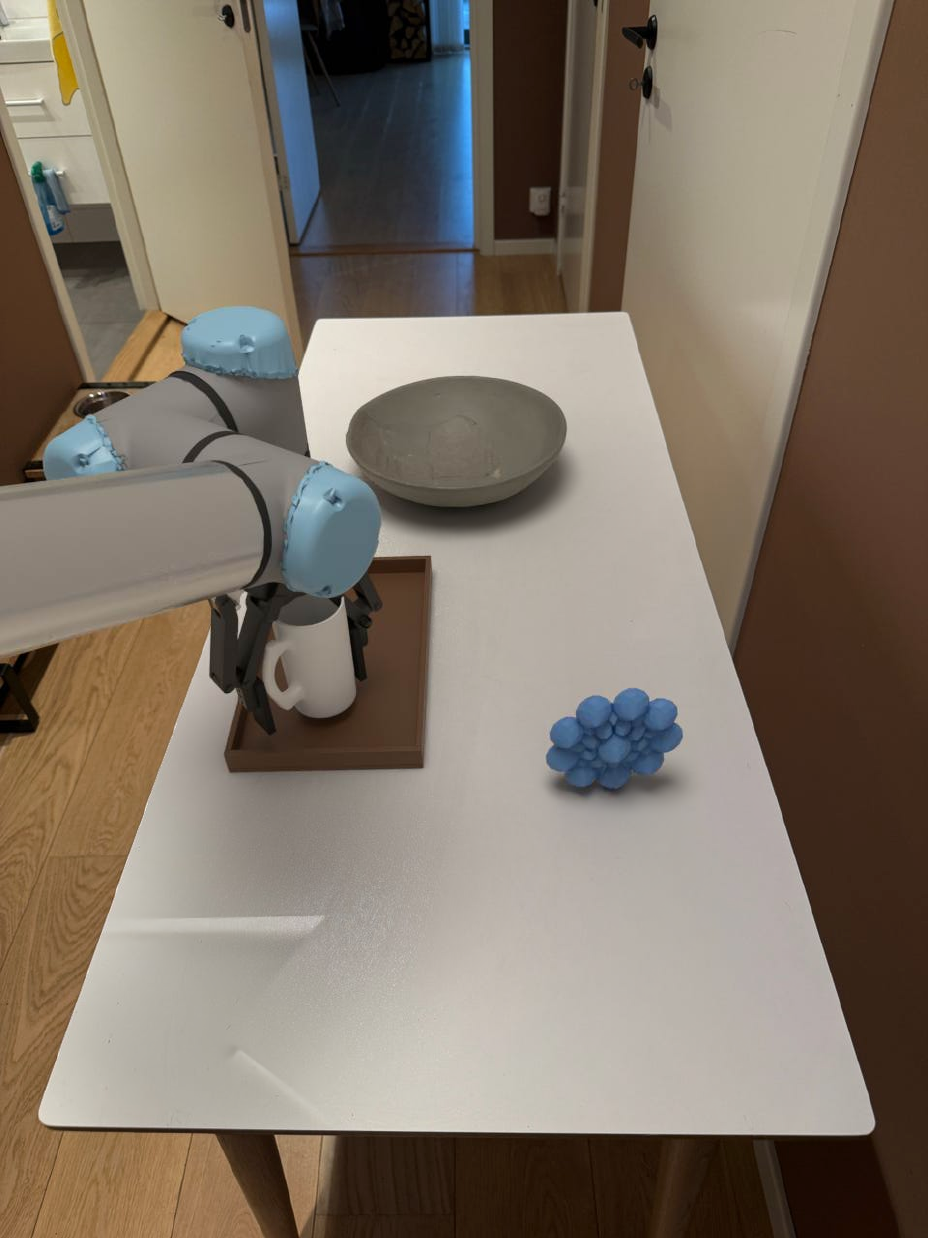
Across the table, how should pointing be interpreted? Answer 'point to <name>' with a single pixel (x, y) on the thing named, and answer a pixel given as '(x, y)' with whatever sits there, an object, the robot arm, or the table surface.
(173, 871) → the table surface
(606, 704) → the blue sphere cluster
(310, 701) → the mug
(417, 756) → the tray
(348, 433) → the bowl
